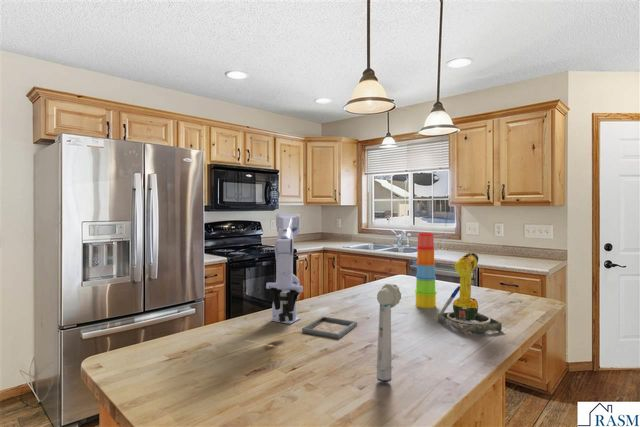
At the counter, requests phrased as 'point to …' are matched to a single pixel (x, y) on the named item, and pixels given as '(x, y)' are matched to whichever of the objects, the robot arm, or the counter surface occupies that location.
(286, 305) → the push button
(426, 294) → the stacking cups
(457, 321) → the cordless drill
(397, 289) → the toothbrush head
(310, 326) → the frame
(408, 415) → the counter surface
